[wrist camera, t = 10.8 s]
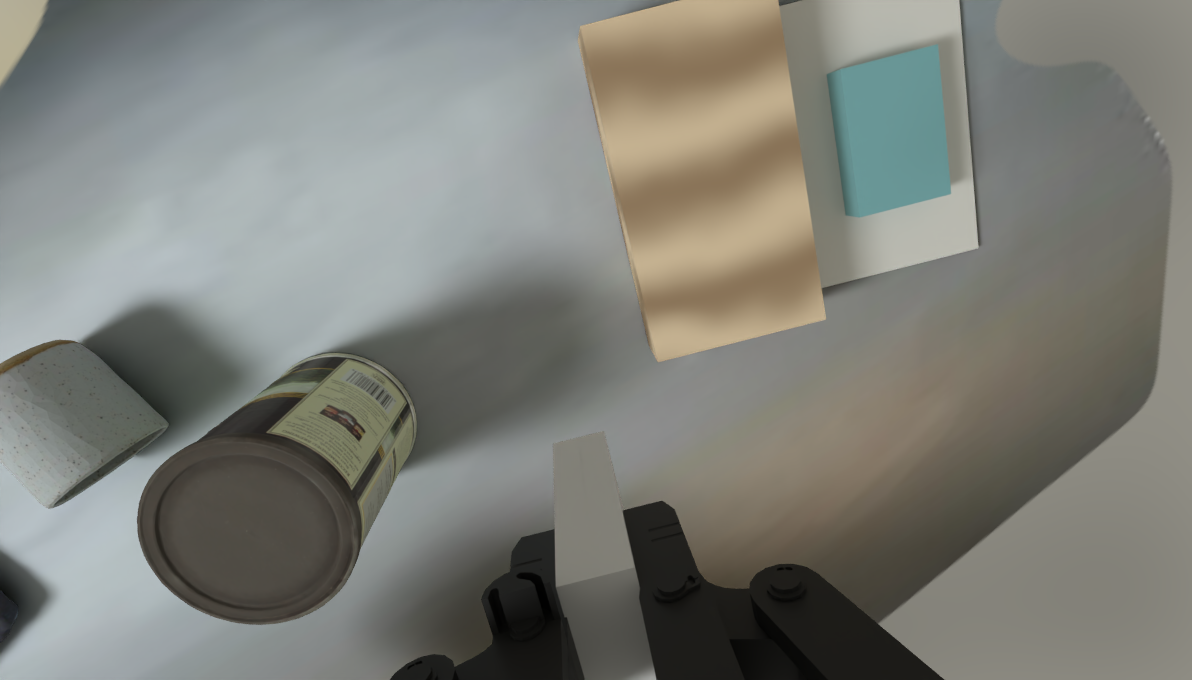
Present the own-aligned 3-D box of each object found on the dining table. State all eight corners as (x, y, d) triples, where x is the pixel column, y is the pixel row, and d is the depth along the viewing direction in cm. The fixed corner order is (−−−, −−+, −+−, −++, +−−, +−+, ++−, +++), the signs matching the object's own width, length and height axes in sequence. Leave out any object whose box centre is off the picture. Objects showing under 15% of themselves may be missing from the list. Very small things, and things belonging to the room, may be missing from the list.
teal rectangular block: (859, 217, 40) (845, 215, 42) (951, 194, 40) (932, 192, 42) (840, 69, 37) (826, 74, 39) (937, 44, 37) (919, 50, 39)
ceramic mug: (95, 318, 41) (-9, 352, 33) (192, 409, 43) (114, 460, 35) (-12, 414, 42) (-134, 467, 35) (87, 497, 44) (-9, 564, 37)
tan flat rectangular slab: (802, 306, 43) (826, 319, 40) (648, 345, 44) (658, 362, 40) (752, -5, 38) (774, -25, 34) (577, 40, 38) (580, 26, 34)
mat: (975, 247, 43) (978, 248, 43) (806, 290, 43) (808, 291, 43) (953, -38, 38) (956, -40, 38) (763, 11, 38) (764, 9, 38)
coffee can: (257, 472, 44) (125, 605, 31) (279, 335, 42) (146, 415, 28) (403, 502, 46) (337, 644, 32) (432, 372, 43) (375, 465, 30)
